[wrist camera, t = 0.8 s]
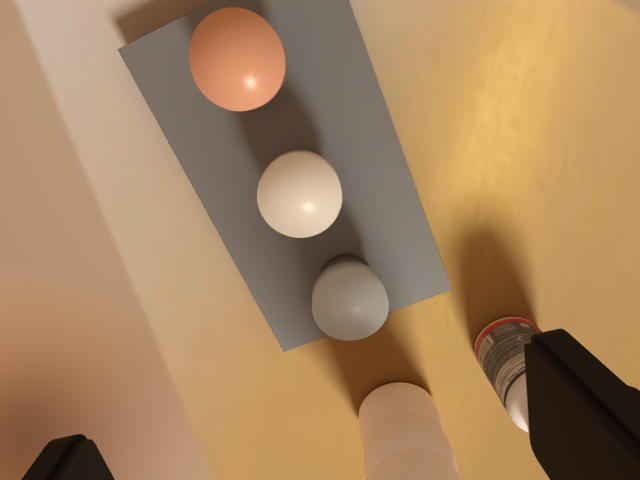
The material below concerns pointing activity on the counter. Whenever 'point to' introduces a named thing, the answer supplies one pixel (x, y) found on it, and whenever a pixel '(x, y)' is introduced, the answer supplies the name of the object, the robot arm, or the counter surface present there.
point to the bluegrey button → (349, 301)
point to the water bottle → (404, 436)
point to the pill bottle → (507, 363)
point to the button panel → (289, 135)
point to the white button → (299, 194)
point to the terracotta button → (237, 59)
